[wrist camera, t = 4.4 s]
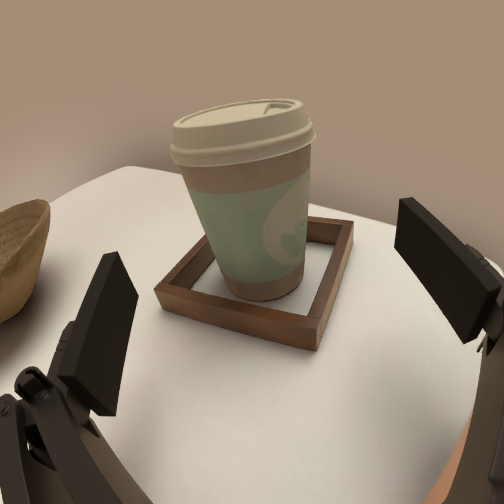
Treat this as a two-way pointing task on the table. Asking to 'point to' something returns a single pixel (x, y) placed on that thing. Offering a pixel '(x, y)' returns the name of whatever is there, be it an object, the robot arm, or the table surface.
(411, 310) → the table surface
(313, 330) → the wooden square frame
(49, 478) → the robot arm
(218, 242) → the coffee cup
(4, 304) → the bowl
